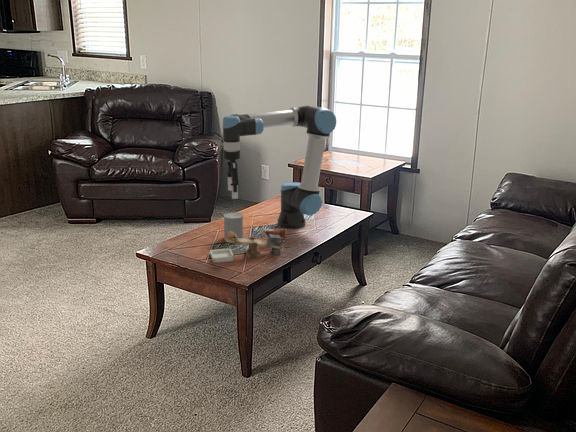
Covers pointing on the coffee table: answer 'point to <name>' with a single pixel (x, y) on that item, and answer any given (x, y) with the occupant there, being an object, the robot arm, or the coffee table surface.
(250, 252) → the fulcrum
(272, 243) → the lever
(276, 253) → the block
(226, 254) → the dish
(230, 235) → the ball
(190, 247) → the coffee table surface
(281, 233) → the bull figurine
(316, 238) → the coffee table surface
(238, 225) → the grey metal can
